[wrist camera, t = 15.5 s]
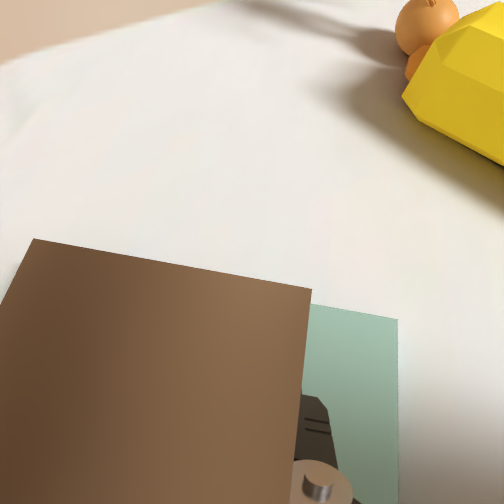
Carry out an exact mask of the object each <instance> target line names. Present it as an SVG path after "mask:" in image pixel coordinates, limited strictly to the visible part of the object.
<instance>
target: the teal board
mask: <svg viewBox="0 0 504 504" xmlns="http://www.w3.org/2000/svg"><path fill="white" fill-rule="evenodd" d="M302 394H303V395H309V396H314V397H318V398H319V400H320V401H321V402H322V403H323V405H324V406H325V407H326V408H327V410H328V415H329V420H330V426H331V431H332V437H333V442H334V448H335V453H336V459H337V464H338V470H339V471H340V472H341V473H342V474H343V475H344V476H345V477H346V478H347V479H348V480H349V482H350V484H351V485H352V488H353V497H354V498H355V499H356V500H357V501H359V502H360V503H361V504H398V319H393V318H387V317H382V316H376V315H371V314H365V313H360V312H354V311H349V310H343V309H338V308H332V307H326V306H321V305H315V304H310V312H309V321H308V330H307V340H306V349H305V359H304V368H303V378H302Z"/></svg>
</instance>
